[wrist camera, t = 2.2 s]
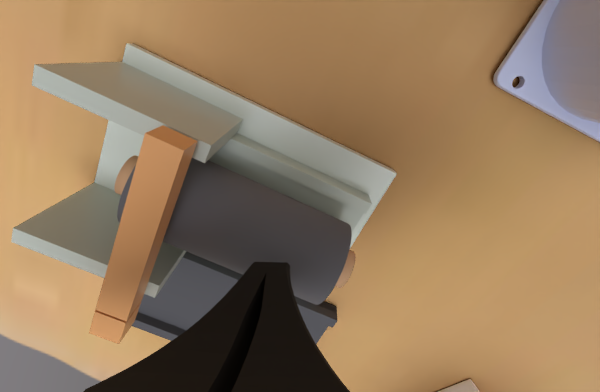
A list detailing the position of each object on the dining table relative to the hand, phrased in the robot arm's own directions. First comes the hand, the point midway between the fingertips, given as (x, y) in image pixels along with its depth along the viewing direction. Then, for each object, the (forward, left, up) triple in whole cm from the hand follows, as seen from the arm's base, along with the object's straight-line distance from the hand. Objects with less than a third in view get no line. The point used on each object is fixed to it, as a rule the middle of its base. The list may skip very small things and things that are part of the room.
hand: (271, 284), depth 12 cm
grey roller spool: (+2, 0, -3) cm, 4 cm away
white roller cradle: (+3, 0, -7) cm, 7 cm away
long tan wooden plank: (+5, +1, -1) cm, 5 cm away
